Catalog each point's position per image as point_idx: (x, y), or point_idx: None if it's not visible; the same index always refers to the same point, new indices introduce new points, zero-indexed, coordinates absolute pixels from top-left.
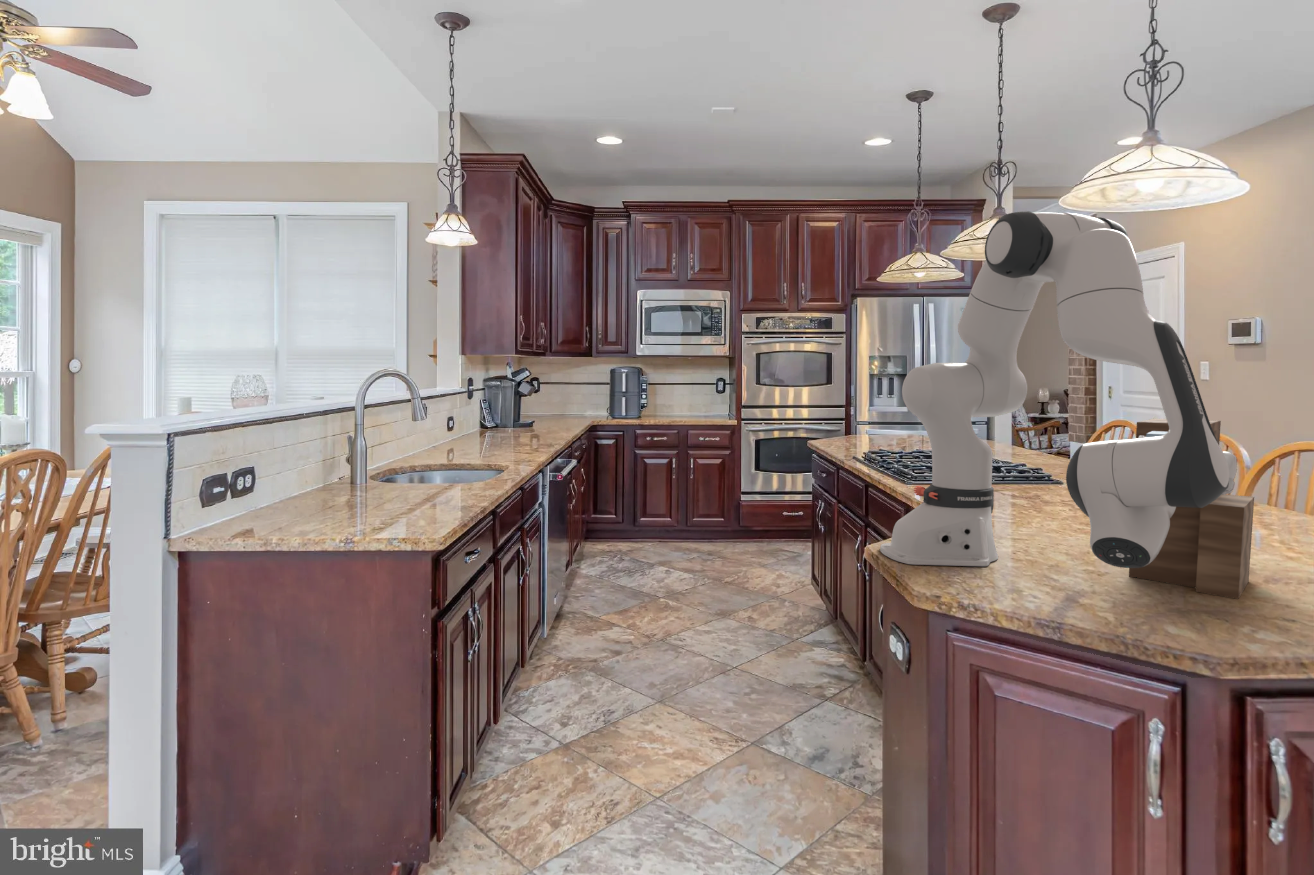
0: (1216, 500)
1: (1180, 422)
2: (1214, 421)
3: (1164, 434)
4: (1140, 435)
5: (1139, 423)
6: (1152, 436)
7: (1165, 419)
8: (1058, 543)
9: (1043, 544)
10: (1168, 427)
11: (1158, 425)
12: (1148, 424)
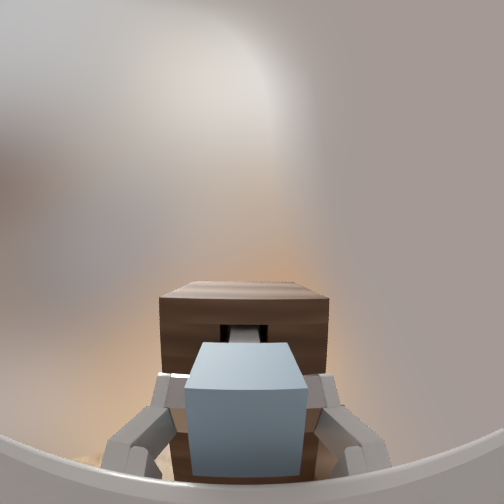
0: (326, 454)
1: None
2: (294, 284)
3: (270, 390)
4: (170, 336)
5: (165, 301)
6: (214, 401)
7: (213, 282)
8: (101, 454)
9: (81, 462)
10: (237, 312)
11: (212, 307)
12: (187, 304)
